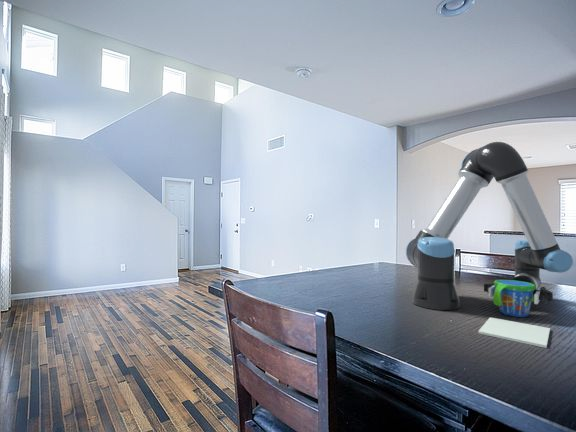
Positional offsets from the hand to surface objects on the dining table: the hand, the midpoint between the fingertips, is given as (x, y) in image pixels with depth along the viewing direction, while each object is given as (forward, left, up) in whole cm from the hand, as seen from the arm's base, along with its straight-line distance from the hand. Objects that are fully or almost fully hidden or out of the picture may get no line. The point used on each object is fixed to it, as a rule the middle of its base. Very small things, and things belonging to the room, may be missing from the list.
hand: (511, 296), depth 98 cm
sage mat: (-5, -15, -7) cm, 17 cm away
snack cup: (+2, +3, -7) cm, 8 cm away
